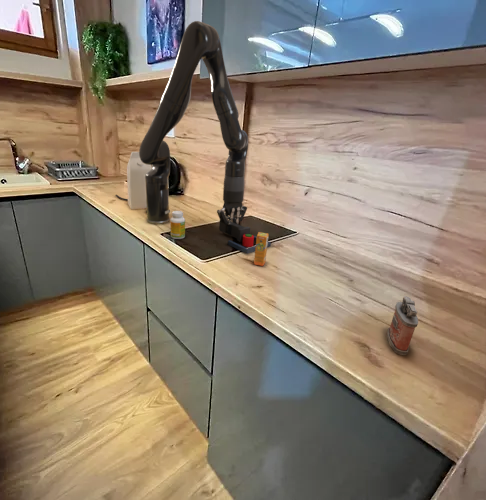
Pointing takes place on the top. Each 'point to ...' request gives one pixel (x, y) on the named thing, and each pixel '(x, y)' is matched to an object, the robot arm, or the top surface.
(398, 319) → the lighter
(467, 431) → the top surface
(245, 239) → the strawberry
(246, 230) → the matte black brick
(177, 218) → the supplement bottle
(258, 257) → the supplement box
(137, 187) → the milk
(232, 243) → the frame
